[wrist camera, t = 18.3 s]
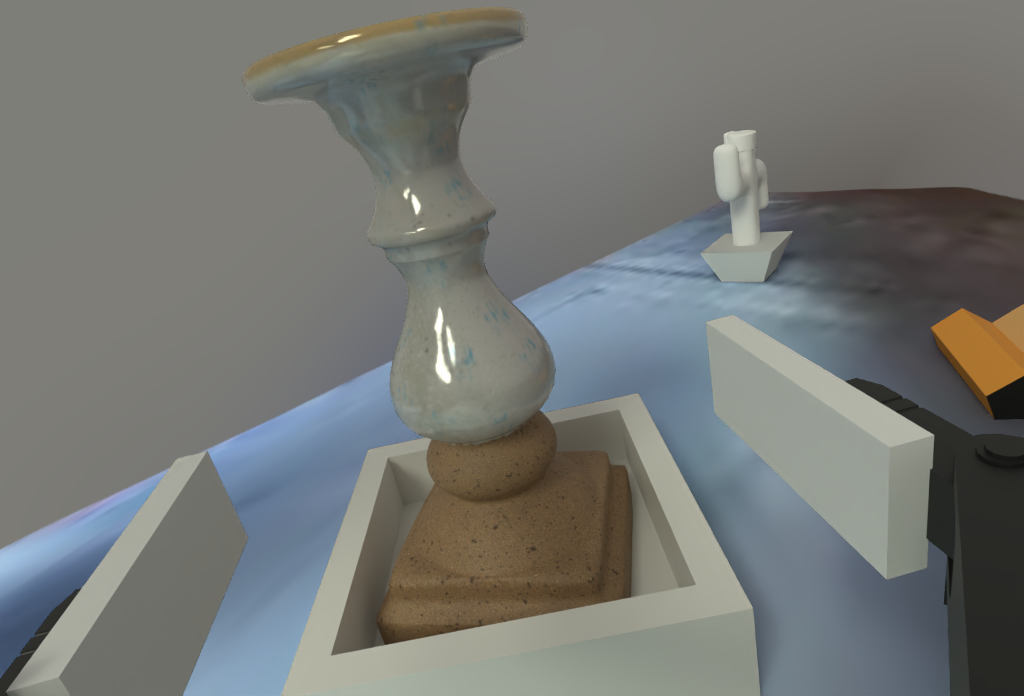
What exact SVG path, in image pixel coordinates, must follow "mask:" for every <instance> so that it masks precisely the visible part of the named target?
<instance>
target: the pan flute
mask: <svg viewBox="0 0 1024 696" xmlns="http://www.w3.org/2000/svg"><path fill="white" fill-rule="evenodd" d="M931 329H932V332H933V335H934V337H935V340H936V343H937V345H938V347H939V349H940V350H941V351H942V352H943V354H944V355H945V356H946V358H947V359H948V360H949V361H950V363H951V364H952V365H953V367H954V368H955V369H956V370H957V372H958V373H959V374H960V376H961V377H962V378H963V379H964V381H965V382H966V383H967V385H968V386H969V387H970V388H971V390H972V391H973V392H974V394H975V395H976V396H977V397H978V399H979V400H980V401H981V403H982V404H983V405H984V406H985V408H986V409H987V410H988V412H989V413H990V414H991V415H992V417H993V418H994V419H995V420H998V419H1024V304H1023V305H1021V306H1020V307H1018V308H1016V309H1015V310H1013V311H1011V312H1010V313H1008V314H1006V315H1005V316H1003V317H1001V318H1000V319H998V320H996V321H995V322H993V323H991V322H989V321H987V320H985V319H983V318H981V317H979V316H977V315H975V314H973V313H971V312H969V311H967V310H965V309H963V308H962V309H960V310H958V311H957V312H955V313H954V314H952V315H950V316H949V317H947V318H946V319H944V320H942V321H941V322H939V323H938V324H936V325H934V326H933V327H931Z"/></svg>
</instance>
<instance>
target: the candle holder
mask: <svg viewBox="0 0 1024 696" xmlns="http://www.w3.org/2000/svg"><path fill="white" fill-rule="evenodd" d="M527 32H528V28H527V22H526V18H525V16H524V15H523V13H521V12H520V11H519V10H517V9H514V8H509V7H481V8H468V9H460V10H452V11H445V12H438V13H431V14H425V15H419V16H414V17H408V18H403V19H398V20H393V21H388V22H384V23H379V24H374V25H370V26H366V27H361V28H357V29H353V30H349V31H345V32H341V33H337V34H334V35H330V36H326V37H323V38H319V39H316V40H312V41H310V42H306V43H303V44H299V45H296V46H293V47H291V48H288V49H285V50H282V51H279V52H277V53H275V54H272V55H269V56H267V57H265V58H263V59H260V60H258V61H257V62H255V63H253V64H251V65H250V66H249V67H247V68H246V70H245V71H244V73H243V75H242V81H243V85H244V88H245V90H246V92H247V94H248V95H249V97H250V98H251V100H253V101H254V102H255V103H257V104H261V105H291V104H300V103H308V102H309V103H312V102H313V103H315V104H317V105H318V107H320V108H321V110H322V111H324V112H325V113H326V115H327V117H328V120H329V122H330V124H331V126H332V128H333V129H334V130H335V132H336V133H337V134H338V135H339V136H340V137H341V138H342V139H344V140H345V141H346V142H347V143H349V144H350V145H351V146H352V147H354V148H355V149H356V150H357V151H358V152H359V153H360V155H361V156H362V157H363V158H364V160H365V162H366V164H367V165H368V167H369V169H370V171H371V173H372V176H373V179H374V182H375V188H376V203H375V210H374V215H373V219H372V222H371V224H370V227H369V229H368V232H367V238H368V241H369V242H370V243H371V244H372V245H373V246H376V247H380V248H382V249H383V250H384V252H385V254H386V257H387V259H388V260H389V261H390V262H391V263H393V264H394V265H395V266H396V268H397V269H398V270H399V271H400V273H401V274H402V276H403V278H404V280H405V282H406V284H407V288H408V301H407V309H406V316H405V320H404V325H403V328H402V332H401V335H400V338H399V341H398V345H397V347H396V351H395V355H394V358H393V362H392V367H391V372H390V395H391V401H392V403H393V406H394V408H395V411H396V413H397V415H398V417H399V418H400V419H401V420H402V422H403V423H404V424H405V425H406V426H407V427H408V428H410V429H411V430H413V431H414V432H416V433H417V434H419V435H421V436H424V437H426V438H429V439H431V441H430V444H429V447H428V450H427V459H426V460H427V467H428V471H429V474H430V476H431V478H432V479H433V481H434V482H435V483H434V485H433V487H432V489H431V491H430V493H429V494H428V496H427V498H426V500H425V502H424V504H423V506H422V507H421V509H420V511H419V513H418V515H417V517H416V519H415V521H414V523H413V525H412V527H411V530H410V532H409V534H408V536H407V538H406V540H405V542H404V544H403V546H402V548H401V551H400V553H399V555H398V557H397V560H396V563H395V565H394V568H393V571H392V574H391V578H390V582H389V589H388V591H387V593H386V596H385V598H384V600H383V603H382V605H381V608H380V610H379V613H378V615H377V620H376V623H377V626H378V628H379V631H380V634H381V636H382V639H383V642H384V644H385V645H389V644H394V643H399V642H404V641H409V640H414V639H420V638H425V637H430V636H435V635H440V634H445V633H451V632H456V631H461V630H466V629H471V628H476V627H481V626H487V625H492V624H497V623H502V622H507V621H512V620H518V619H523V618H528V617H533V616H538V615H543V614H548V613H554V612H559V611H564V610H569V609H574V608H579V607H585V606H590V605H595V604H600V603H605V602H610V601H615V600H621V599H626V598H631V575H632V526H633V506H632V493H631V488H630V482H629V477H628V472H627V469H626V467H625V466H624V465H611V464H610V461H609V457H608V454H607V453H605V452H603V451H598V450H591V451H563V452H556V451H557V436H556V432H555V428H554V427H553V425H552V423H551V421H550V420H549V419H548V418H547V417H546V416H545V415H544V414H543V413H542V412H541V411H540V408H541V407H542V406H543V404H544V403H545V402H546V400H547V399H548V397H549V395H550V392H551V390H552V388H553V386H554V380H555V372H556V369H555V362H554V357H553V354H552V352H551V349H550V346H549V345H548V343H547V341H546V340H545V338H544V336H543V335H542V334H541V332H540V331H539V330H538V329H537V328H536V326H535V325H534V324H533V323H532V322H531V321H530V320H529V319H528V318H527V317H526V316H525V315H524V314H523V313H522V312H521V311H520V310H519V309H518V308H517V307H516V306H515V305H514V304H513V303H512V302H511V301H509V300H508V299H507V298H506V296H505V295H504V294H503V293H502V292H501V291H500V290H499V289H498V287H497V286H496V284H495V283H494V282H493V280H492V279H491V277H490V276H489V274H488V272H487V270H486V267H485V263H484V250H485V245H486V241H487V238H488V236H489V231H488V221H490V220H491V219H492V218H493V217H494V216H495V214H496V207H495V204H494V202H493V201H492V200H491V199H489V198H488V197H487V196H486V195H485V194H483V193H482V192H481V190H480V189H479V188H478V187H477V186H476V185H475V183H474V182H473V181H472V180H471V178H470V176H469V174H468V173H467V171H466V169H465V167H464V164H463V162H462V157H461V148H460V147H461V145H460V135H461V129H462V125H463V122H464V120H465V117H466V115H467V112H468V110H469V108H470V104H471V99H472V88H471V79H472V76H473V72H474V69H475V66H476V65H479V64H481V63H483V62H487V61H490V60H493V59H495V58H498V57H501V56H503V55H506V54H508V53H510V52H512V51H513V50H515V49H517V48H519V47H520V46H522V45H523V44H524V42H525V40H526V38H527Z"/></svg>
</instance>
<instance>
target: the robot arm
mask: <svg viewBox="0 0 1024 696" xmlns="http://www.w3.org/2000/svg"><path fill="white" fill-rule="evenodd" d="M706 331H707V341H708V351H709V361H710V370H711V380H712V390H713V400H714V410H715V414H716V415H717V416H718V417H719V418H720V419H721V420H722V421H723V422H725V423H726V424H727V425H728V426H729V427H730V428H731V429H732V430H733V431H734V432H735V433H736V434H737V435H738V436H739V437H740V438H741V439H742V440H743V441H744V442H745V443H746V444H747V445H748V446H749V447H750V448H751V449H752V450H753V451H754V452H755V453H757V454H758V455H759V456H760V457H761V458H762V459H763V460H764V461H765V462H766V463H767V464H768V465H769V466H770V467H771V468H772V469H773V470H774V471H775V472H776V473H777V474H778V475H779V476H780V477H781V478H782V479H783V480H784V481H785V482H786V483H787V484H788V485H790V486H791V487H792V488H793V489H794V490H795V491H796V492H797V493H798V494H799V495H800V496H801V497H802V498H803V499H804V500H805V501H806V502H807V503H808V504H809V505H810V506H811V507H812V508H813V509H814V510H815V511H816V512H817V513H818V514H819V515H820V516H822V517H823V518H824V519H825V520H826V521H827V522H828V523H829V524H830V525H831V526H832V527H833V528H834V529H835V530H836V531H837V532H838V533H839V534H840V535H841V536H842V537H843V538H844V539H845V540H846V541H847V542H848V543H849V544H850V545H851V546H852V547H854V548H855V549H856V550H857V551H858V552H859V553H860V554H861V555H862V556H863V557H864V558H865V559H866V560H867V561H868V562H869V563H870V564H871V565H872V566H873V567H874V568H875V569H876V570H877V571H878V572H879V573H880V574H881V575H882V576H883V577H884V578H886V579H891V578H894V577H898V576H901V575H905V574H908V573H911V572H915V571H918V570H922V569H925V568H927V559H928V541H930V542H932V543H933V544H934V545H935V546H937V547H938V548H939V549H940V550H942V551H943V552H944V553H945V554H947V567H946V581H945V595H944V604H945V605H947V608H948V638H949V667H950V696H1024V438H1021V437H1015V436H1009V435H1003V434H981V435H975V436H973V435H971V434H969V433H967V432H965V431H964V430H962V429H960V428H958V427H957V426H955V425H953V424H951V423H949V422H948V421H946V420H944V419H942V418H940V417H939V416H937V415H935V414H933V413H931V412H930V411H928V410H926V409H924V408H919V407H918V405H917V404H915V403H913V402H912V401H910V400H908V399H906V398H905V399H903V398H902V396H901V395H899V394H897V393H896V392H894V391H892V390H890V389H888V388H887V387H885V386H883V385H880V384H876V383H873V382H869V381H865V380H862V379H858V378H855V379H851V380H848V381H843V380H841V379H840V378H838V377H836V376H835V375H833V374H831V373H830V372H828V371H826V370H825V369H823V368H821V367H820V366H818V365H816V364H815V363H813V362H811V361H810V360H808V359H806V358H805V357H803V356H801V355H800V354H798V353H796V352H795V351H793V350H791V349H789V348H788V347H786V346H784V345H783V344H781V343H779V342H778V341H776V340H774V339H773V338H771V337H769V336H768V335H766V334H764V333H763V332H761V331H759V330H758V329H756V328H754V327H753V326H751V325H749V324H748V323H746V322H744V321H743V320H741V319H739V318H738V317H736V316H734V315H731V316H727V317H723V318H719V319H715V320H711V321H708V322H706ZM247 540H248V536H247V534H246V532H245V530H244V528H243V526H242V524H241V522H240V519H239V517H238V515H237V513H236V511H235V509H234V507H233V505H232V502H231V500H230V498H229V496H228V494H227V492H226V490H225V488H224V485H223V483H222V481H221V479H220V477H219V475H218V473H217V471H216V468H215V466H214V464H213V462H212V460H211V458H210V456H209V454H208V451H205V452H202V453H198V454H194V455H190V456H186V457H182V458H179V459H176V461H175V462H174V463H173V465H172V466H171V467H170V469H169V470H168V471H167V473H166V474H165V476H164V477H163V478H162V480H161V481H160V482H159V484H158V485H157V486H156V488H155V489H154V491H153V492H152V493H151V495H150V496H149V497H148V499H147V500H146V501H145V503H144V504H143V506H142V507H141V508H140V510H139V511H138V512H137V514H136V515H135V516H134V518H133V519H132V521H131V522H130V523H129V525H128V526H127V527H126V529H125V530H124V531H123V533H122V534H121V536H120V537H119V538H118V540H117V541H116V542H115V544H114V545H113V546H112V548H111V549H110V551H109V552H108V553H107V555H106V556H105V557H104V559H103V560H102V561H101V563H100V564H99V566H98V567H97V568H96V570H95V571H94V572H93V574H92V575H91V576H90V578H89V579H88V581H87V582H86V583H85V585H84V586H83V587H82V588H80V589H77V590H75V591H74V592H73V593H72V594H71V595H70V596H69V597H68V598H66V599H65V600H64V601H63V602H62V603H61V604H60V605H58V606H57V607H56V608H55V609H54V610H53V611H52V612H51V613H50V614H49V616H48V617H47V618H46V620H45V621H44V622H43V624H42V625H41V626H40V627H39V629H38V630H37V631H36V633H35V637H34V638H31V639H30V641H29V642H28V643H27V645H26V646H25V647H24V648H23V650H22V651H21V656H19V657H17V658H16V659H15V660H14V662H13V663H12V664H11V666H10V667H9V668H8V669H7V671H6V672H5V673H4V675H3V676H2V677H1V679H0V696H183V693H184V691H185V689H186V686H187V684H188V681H189V679H190V677H191V674H192V672H193V670H194V667H195V665H196V662H197V660H198V658H199V655H200V653H201V650H202V648H203V646H204V643H205V641H206V638H207V636H208V634H209V631H210V629H211V626H212V624H213V622H214V619H215V617H216V614H217V612H218V610H219V607H220V605H221V603H222V600H223V598H224V595H225V593H226V591H227V588H228V586H229V583H230V581H231V579H232V576H233V574H234V571H235V569H236V567H237V564H238V562H239V559H240V557H241V555H242V552H243V550H244V547H245V545H246V543H247Z"/></svg>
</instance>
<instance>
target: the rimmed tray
mask: <svg viewBox="0 0 1024 696" xmlns="http://www.w3.org/2000/svg"><path fill="white" fill-rule="evenodd" d="M543 414H544V415H545V416H546V417H547V418H548V419H549V420H550V421H551V423H552V425H553V427H554V428H555V432H556V436H557V451H556V452H563V451H591V450H598V451H603V452H605V453H607V454H608V457H609V461H610V464H611V465H624V466H625V467H626V469H627V472H628V477H629V482H630V488H631V493H632V506H633V526H632V575H631V598H626V599H621V600H615V601H610V602H605V603H600V604H595V605H590V606H585V607H579V608H574V609H569V610H564V611H559V612H554V613H548V614H543V615H538V616H533V617H528V618H523V619H518V620H512V621H507V622H502V623H497V624H492V625H487V626H481V627H476V628H471V629H466V630H461V631H456V632H451V633H445V634H440V635H435V636H430V637H425V638H420V639H414V640H409V641H404V642H399V643H394V644H389V645H385V644H384V642H383V639H382V636H381V634H380V631H379V628H378V626H377V623H376V620H377V615H378V613H379V610H380V608H381V605H382V603H383V600H384V598H385V596H386V593H387V591H388V589H389V582H390V578H391V574H392V571H393V568H394V565H395V563H396V560H397V557H398V555H399V553H400V551H401V548H402V546H403V544H404V542H405V540H406V538H407V536H408V534H409V532H410V530H411V527H412V525H413V523H414V521H415V519H416V517H417V515H418V513H419V511H420V509H421V507H422V506H423V504H424V502H425V500H426V498H427V496H428V494H429V493H430V491H431V489H432V487H433V485H434V483H435V482H434V481H433V479H432V478H431V476H430V474H429V471H428V467H427V460H426V459H427V450H428V447H429V444H430V441H431V439H429V438H421V439H416V440H411V441H407V442H402V443H397V444H392V445H387V446H383V447H378V448H373V449H368V452H367V455H366V457H365V460H364V463H363V466H362V469H361V471H360V474H359V477H358V480H357V483H356V486H355V488H354V491H353V494H352V497H351V500H350V503H349V505H348V508H347V511H346V514H345V517H344V519H343V522H342V525H341V528H340V531H339V534H338V536H337V539H336V542H335V545H334V548H333V551H332V553H331V556H330V559H329V562H328V565H327V567H326V570H325V573H324V576H323V579H322V582H321V584H320V587H319V590H318V593H317V596H316V599H315V601H314V604H313V607H312V610H311V613H310V616H309V618H308V621H307V624H306V627H305V630H304V632H303V635H302V638H301V641H300V644H299V647H298V649H297V652H296V655H295V658H294V661H293V664H292V666H291V669H290V672H289V675H288V678H287V680H286V683H285V686H284V689H283V692H282V695H281V696H761V695H760V684H759V672H758V660H757V648H756V636H755V624H754V613H753V607H752V605H751V603H750V602H749V600H748V598H747V596H746V594H745V592H744V590H743V588H742V587H741V585H740V583H739V581H738V579H737V577H736V575H735V573H734V572H733V570H732V568H731V566H730V564H729V562H728V560H727V558H726V557H725V555H724V553H723V551H722V549H721V547H720V545H719V543H718V542H717V540H716V538H715V536H714V534H713V532H712V530H711V528H710V527H709V525H708V523H707V521H706V519H705V517H704V515H703V513H702V512H701V510H700V508H699V506H698V504H697V502H696V500H695V498H694V497H693V495H692V493H691V491H690V489H689V487H688V485H687V483H686V482H685V480H684V478H683V476H682V474H681V472H680V470H679V468H678V467H677V465H676V463H675V461H674V459H673V457H672V455H671V453H670V452H669V450H668V448H667V446H666V444H665V442H664V440H663V438H662V437H661V435H660V433H659V431H658V429H657V427H656V425H655V424H654V422H653V420H652V418H651V416H650V414H649V412H648V410H647V409H646V407H645V405H644V403H643V401H642V399H641V397H640V395H639V394H638V393H636V394H632V395H627V396H622V397H617V398H612V399H608V400H603V401H598V402H593V403H589V404H584V405H579V406H574V407H569V408H565V409H560V410H555V411H550V412H545V413H543Z"/></svg>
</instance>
